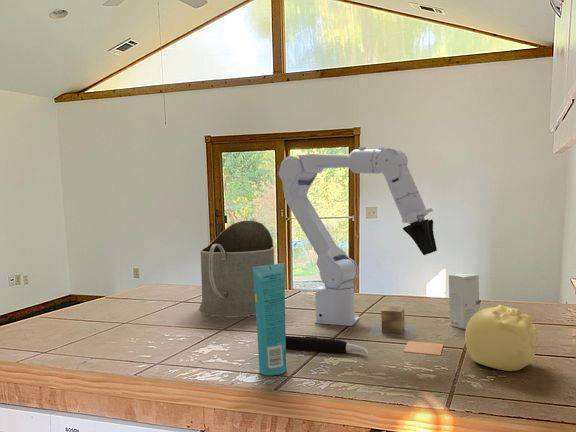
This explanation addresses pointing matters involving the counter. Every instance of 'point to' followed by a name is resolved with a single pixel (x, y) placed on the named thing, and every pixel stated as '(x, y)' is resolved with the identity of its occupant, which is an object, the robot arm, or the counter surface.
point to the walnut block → (392, 320)
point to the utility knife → (321, 345)
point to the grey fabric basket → (234, 269)
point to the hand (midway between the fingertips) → (430, 253)
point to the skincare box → (463, 298)
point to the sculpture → (501, 338)
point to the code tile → (407, 333)
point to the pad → (423, 348)
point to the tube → (270, 317)
